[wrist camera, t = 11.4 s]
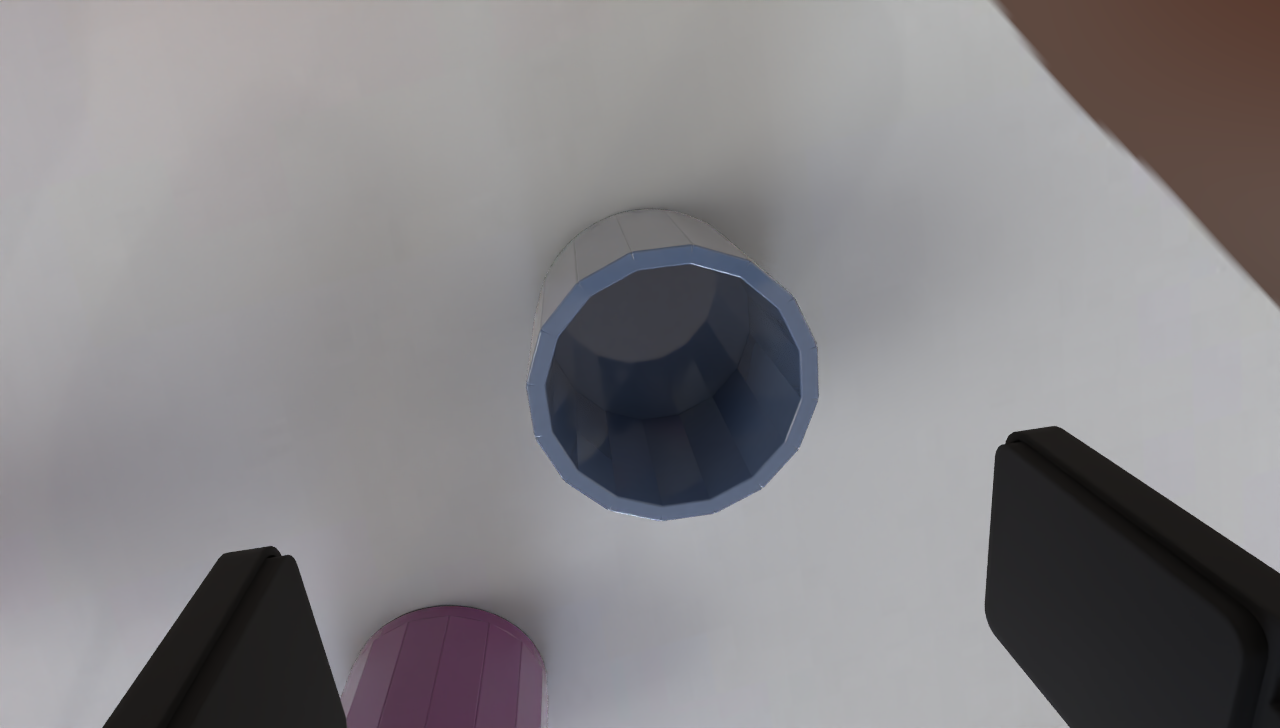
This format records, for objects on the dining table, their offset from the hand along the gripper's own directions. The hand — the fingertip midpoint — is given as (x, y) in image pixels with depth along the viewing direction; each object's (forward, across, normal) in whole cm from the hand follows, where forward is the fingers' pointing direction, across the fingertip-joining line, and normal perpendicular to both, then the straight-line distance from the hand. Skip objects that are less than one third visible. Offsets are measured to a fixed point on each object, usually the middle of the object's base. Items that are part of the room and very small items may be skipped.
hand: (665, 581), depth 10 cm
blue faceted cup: (+14, -2, +1) cm, 14 cm away
